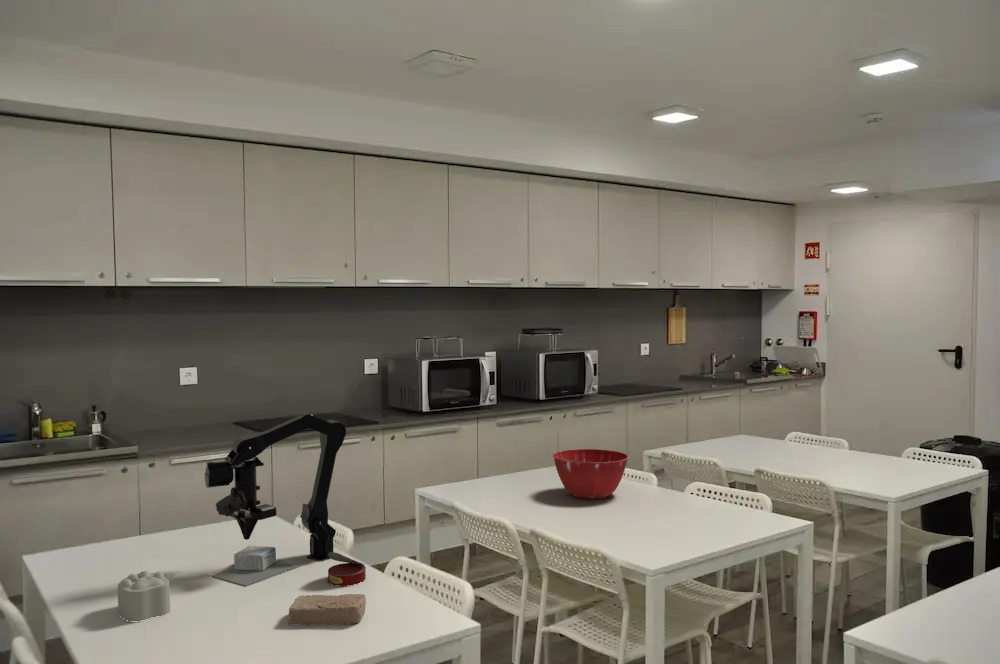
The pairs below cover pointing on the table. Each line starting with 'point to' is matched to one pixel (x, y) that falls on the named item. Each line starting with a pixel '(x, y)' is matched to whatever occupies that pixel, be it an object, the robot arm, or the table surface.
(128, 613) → the lumpy-topped squat cylinder
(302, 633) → the table surface
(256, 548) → the medicine box
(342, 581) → the canned food
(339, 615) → the brick
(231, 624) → the table surface
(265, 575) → the mat
